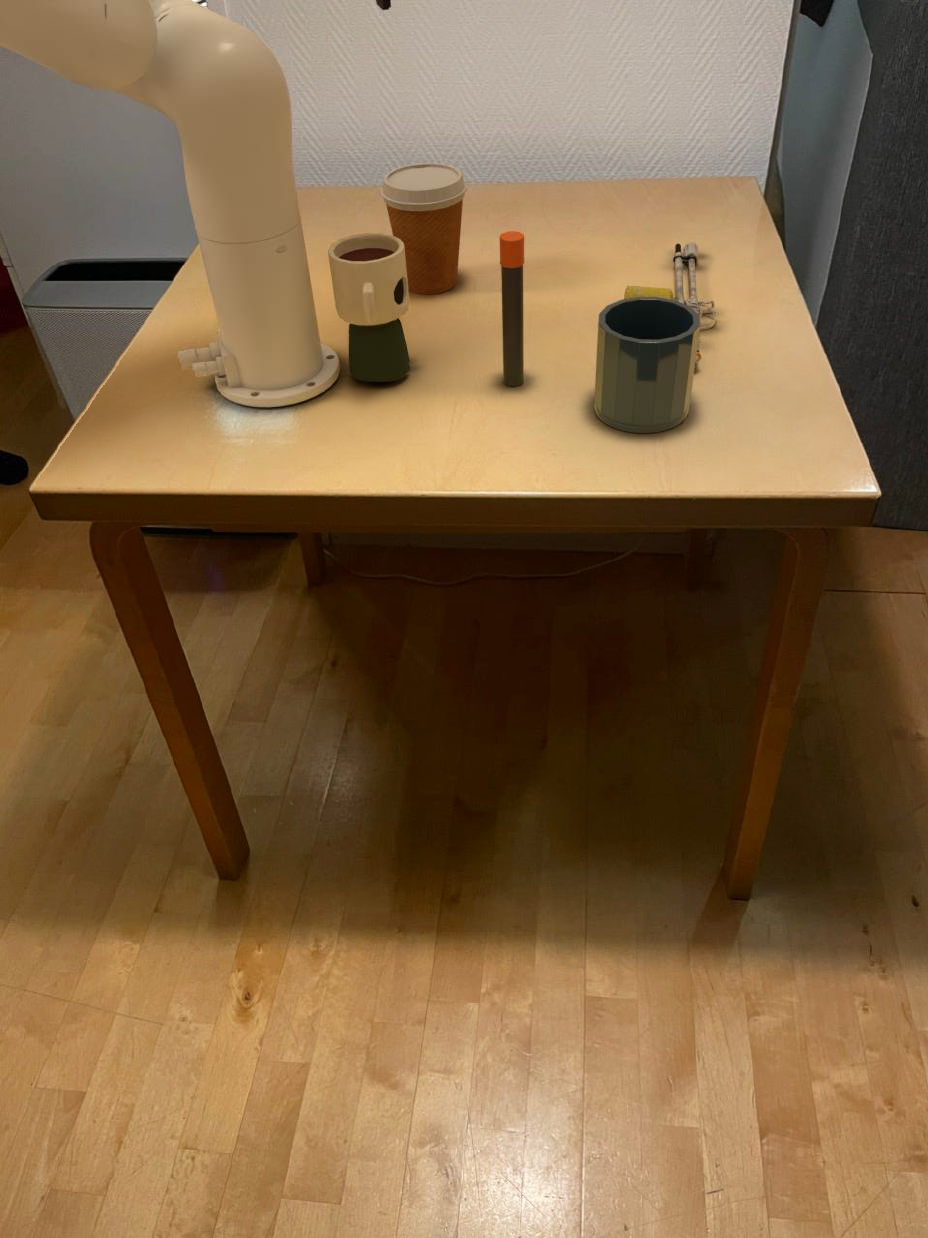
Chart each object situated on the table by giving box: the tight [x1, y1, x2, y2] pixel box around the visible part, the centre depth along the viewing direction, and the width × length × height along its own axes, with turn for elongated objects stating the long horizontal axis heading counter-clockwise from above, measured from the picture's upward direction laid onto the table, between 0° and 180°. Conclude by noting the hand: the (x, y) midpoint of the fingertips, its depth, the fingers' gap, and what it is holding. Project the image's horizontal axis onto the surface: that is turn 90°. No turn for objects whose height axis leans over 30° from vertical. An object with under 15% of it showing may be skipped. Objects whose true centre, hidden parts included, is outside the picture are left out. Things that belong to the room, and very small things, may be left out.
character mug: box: [327, 232, 411, 383], centre depth 94 cm, size 11×7×13 cm, turn 3°
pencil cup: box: [593, 297, 701, 434], centre depth 89 cm, size 9×9×9 cm
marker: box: [499, 230, 525, 387], centre depth 91 cm, size 2×2×14 cm
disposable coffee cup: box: [379, 162, 468, 295], centre depth 110 cm, size 10×10×12 cm
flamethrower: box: [623, 241, 719, 363], centre depth 105 cm, size 29×3×10 cm
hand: (437, 0), depth 85 cm, fingers open, 9 cm apart
